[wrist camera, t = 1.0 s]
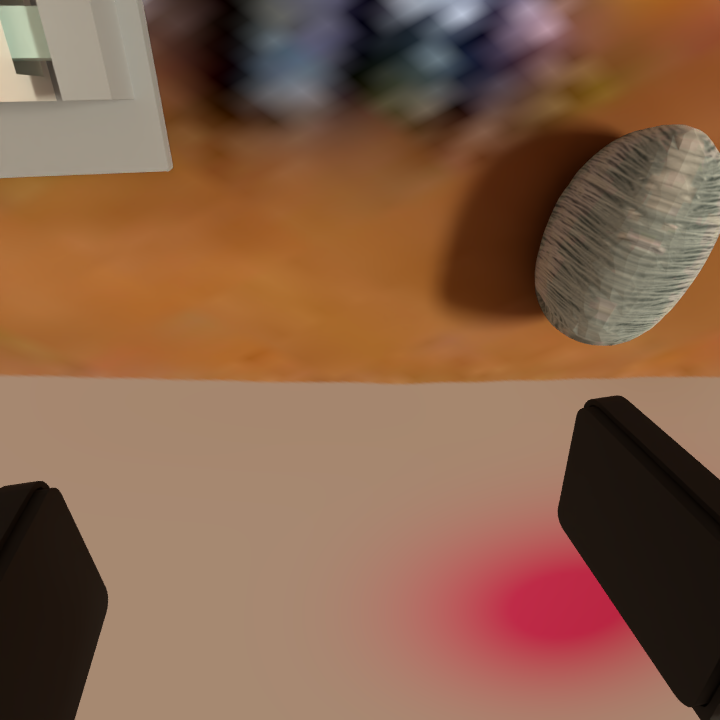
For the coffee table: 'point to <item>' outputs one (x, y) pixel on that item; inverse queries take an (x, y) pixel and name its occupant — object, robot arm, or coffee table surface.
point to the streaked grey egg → (630, 234)
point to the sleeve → (22, 72)
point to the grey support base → (90, 97)
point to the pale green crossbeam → (24, 33)
